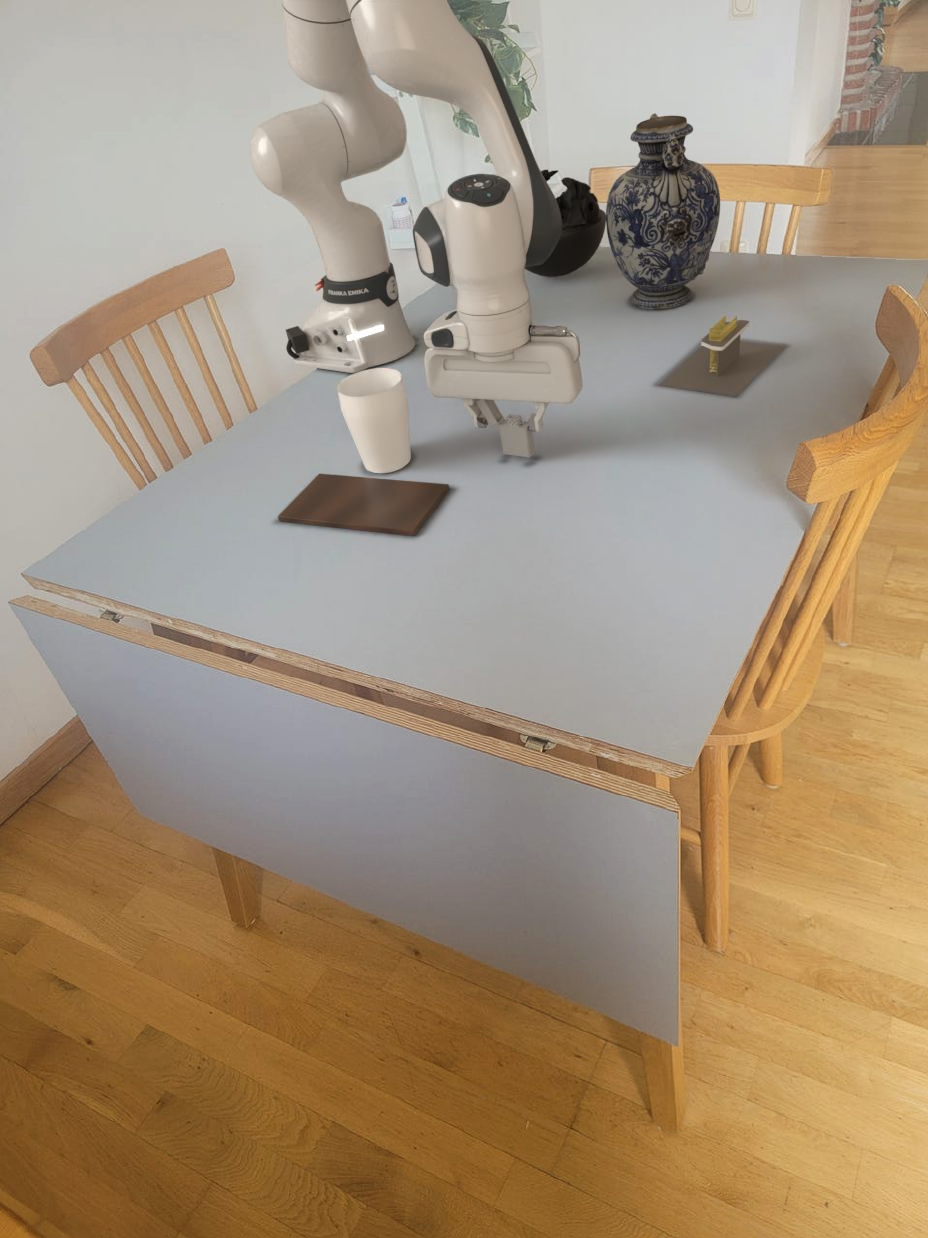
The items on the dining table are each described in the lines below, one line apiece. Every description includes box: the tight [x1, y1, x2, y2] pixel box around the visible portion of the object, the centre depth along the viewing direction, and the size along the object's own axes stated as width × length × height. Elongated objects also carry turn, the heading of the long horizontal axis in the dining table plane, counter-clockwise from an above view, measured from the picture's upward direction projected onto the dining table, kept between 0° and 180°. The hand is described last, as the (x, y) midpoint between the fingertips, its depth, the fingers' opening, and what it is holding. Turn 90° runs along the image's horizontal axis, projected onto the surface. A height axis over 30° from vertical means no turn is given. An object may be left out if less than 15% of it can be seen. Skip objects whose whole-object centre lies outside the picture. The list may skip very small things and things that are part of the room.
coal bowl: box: [525, 169, 606, 278], centre depth 164 cm, size 20×20×19 cm
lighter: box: [476, 399, 536, 458], centre depth 112 cm, size 7×2×8 cm, turn 58°
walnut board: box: [277, 473, 450, 537], centre depth 111 cm, size 20×11×1 cm, turn 67°
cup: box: [336, 367, 412, 474], centre depth 116 cm, size 9×9×12 cm
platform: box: [658, 315, 786, 397], centre depth 125 cm, size 12×18×7 cm, turn 143°
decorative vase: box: [605, 112, 721, 311], centre depth 142 cm, size 21×19×28 cm
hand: (508, 427), depth 112 cm, fingers closed on lighter, 6 cm apart
